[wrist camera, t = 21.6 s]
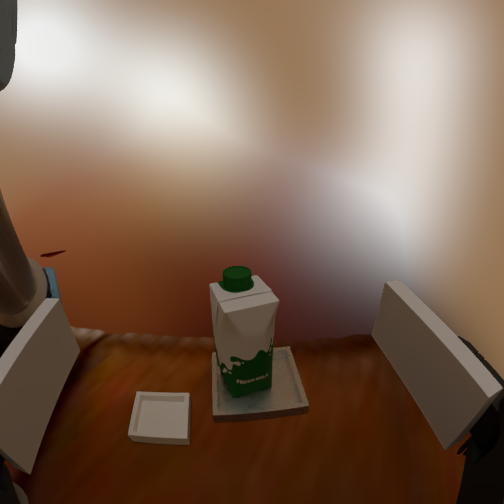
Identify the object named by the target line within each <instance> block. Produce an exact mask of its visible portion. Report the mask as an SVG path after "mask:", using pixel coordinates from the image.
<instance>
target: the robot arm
mask: <svg viewBox="0 0 504 504" xmlns="http://www.w3.org/2000/svg"><path fill="white" fill-rule="evenodd" d="M16 38H17V0H0V91H1V90H3V89H4V88H5V87H6V86H7V85H8V83H9V81H10V79H11V76H12V72H13V67H14V61H15V44H16ZM372 337H373V338H374V340H375V341H376V342H377V344H378V345H379V347H380V348H381V350H382V351H383V353H384V354H385V356H386V357H387V359H388V360H389V362H390V363H391V365H392V366H393V368H394V369H395V371H396V372H397V374H398V375H399V377H400V378H401V380H402V381H403V383H404V384H405V386H406V387H407V389H408V391H409V392H410V394H411V395H412V397H413V398H414V400H415V402H416V403H417V405H418V406H419V408H420V410H421V411H422V413H423V414H424V416H425V418H426V419H427V421H428V423H429V424H430V426H431V428H432V429H433V431H434V433H435V434H436V436H437V438H438V439H439V441H440V443H441V444H442V446H443V448H444V450H446V449H448V448H449V447H451V446H453V445H455V444H456V443H458V442H460V441H461V440H462V439H463V437H464V436H465V435H466V434H467V433H468V432H469V431H470V433H471V434H472V436H471V437H470V438H469V439H468V440H467V441H466V442H465V443H464V444H463V445H462V446H461V447H460V448H459V450H458V453H457V454H460V453H461V452H462V451H463V450H464V449H465V448H466V447H467V450H466V451H465V452H464V453H463V455H466V460H465V466H464V471H463V476H462V481H461V486H460V490H459V494H458V498H457V502H456V504H504V380H503V379H502V378H501V377H500V376H499V374H498V373H497V372H496V371H495V370H494V369H493V368H492V366H491V365H490V364H489V363H488V362H487V361H486V360H484V357H483V356H482V355H481V354H478V351H477V350H476V349H475V348H474V347H473V346H472V345H471V343H469V342H468V341H466V340H464V339H463V338H461V337H460V336H458V337H457V336H456V335H455V334H454V333H453V332H452V331H451V330H450V329H449V328H448V326H446V325H445V324H444V322H443V321H441V319H440V318H439V317H438V316H437V315H435V314H434V313H433V312H432V310H430V309H429V308H428V307H427V306H426V305H425V304H424V303H423V302H422V301H421V300H420V299H419V298H418V297H417V296H416V295H415V294H414V293H413V292H412V291H411V290H410V289H408V288H407V287H406V286H405V285H404V284H403V283H402V282H401V281H400V280H398V281H390V282H385V285H384V289H383V293H382V298H381V302H380V306H379V310H378V314H377V317H376V321H375V325H374V328H373V332H372ZM79 352H80V349H79V347H78V344H77V342H76V340H75V337H74V335H73V333H72V330H71V328H70V325H69V323H68V320H67V317H66V315H65V312H64V309H63V306H62V301H61V297H60V293H59V288H58V284H57V279H56V275H55V271H54V269H53V268H51V267H48V268H47V267H44V268H41V267H40V265H39V264H38V263H37V262H36V261H34V260H33V259H31V258H29V257H26V255H25V253H24V251H23V248H22V246H21V244H20V242H19V239H18V237H17V235H16V232H15V230H14V227H13V225H12V222H11V219H10V217H9V214H8V211H7V209H6V205H5V202H4V200H3V196H2V193H1V190H0V504H20V501H19V499H18V496H17V494H16V491H15V488H14V485H13V482H12V479H11V476H10V473H9V470H8V468H7V466H6V465H5V464H4V461H5V459H6V460H7V461H8V462H9V463H10V464H11V465H13V466H14V467H15V468H17V469H19V470H21V471H23V472H26V473H28V474H30V475H31V471H32V468H33V465H34V462H35V458H36V455H37V452H38V449H39V446H40V444H41V441H42V438H43V435H44V432H45V430H46V427H47V424H48V422H49V419H50V417H51V414H52V412H53V409H54V407H55V405H56V402H57V400H58V397H59V395H60V393H61V391H62V388H63V386H64V384H65V382H66V379H67V377H68V375H69V373H70V371H71V369H72V367H73V365H74V362H75V360H76V358H77V356H78V354H79Z"/></svg>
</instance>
